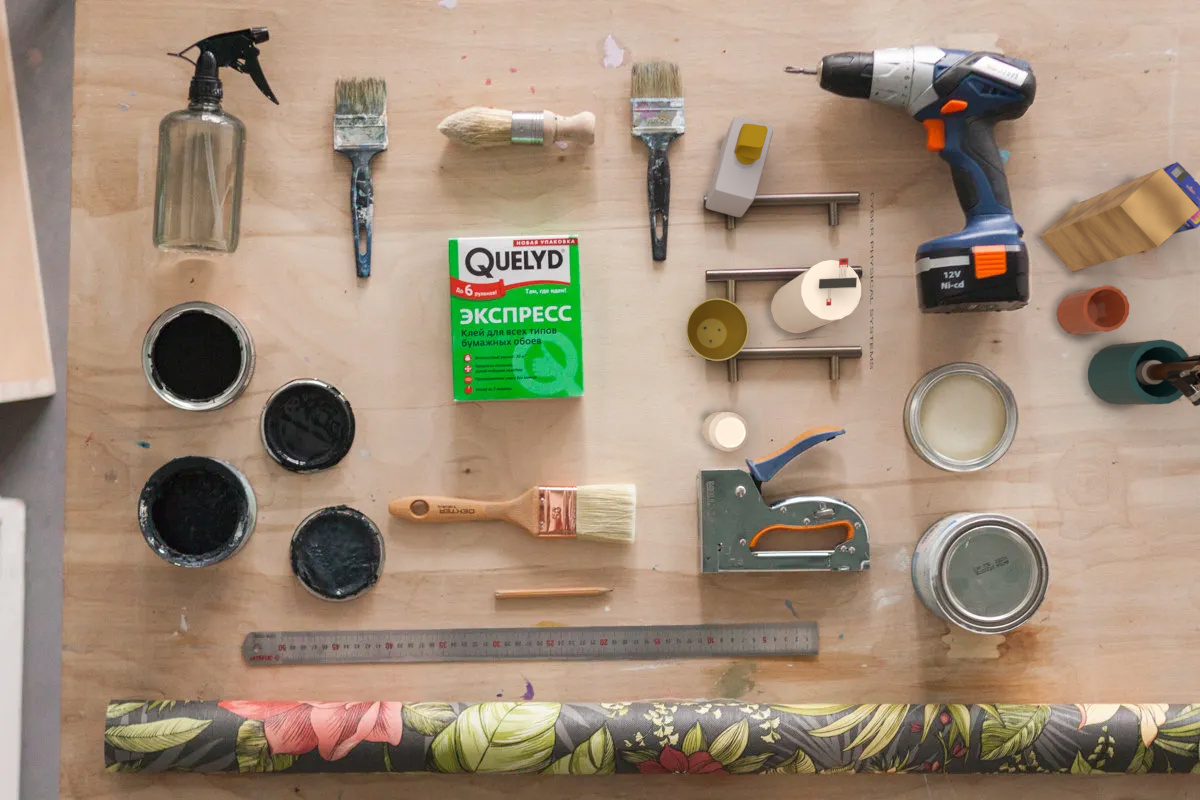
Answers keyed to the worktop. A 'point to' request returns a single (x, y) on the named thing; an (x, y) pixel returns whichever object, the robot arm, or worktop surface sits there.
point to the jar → (1133, 372)
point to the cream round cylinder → (725, 431)
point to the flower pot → (714, 318)
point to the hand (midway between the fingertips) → (1179, 370)
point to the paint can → (818, 296)
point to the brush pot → (1093, 310)
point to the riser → (1120, 221)
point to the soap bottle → (739, 167)
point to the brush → (1159, 370)
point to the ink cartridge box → (1186, 192)
